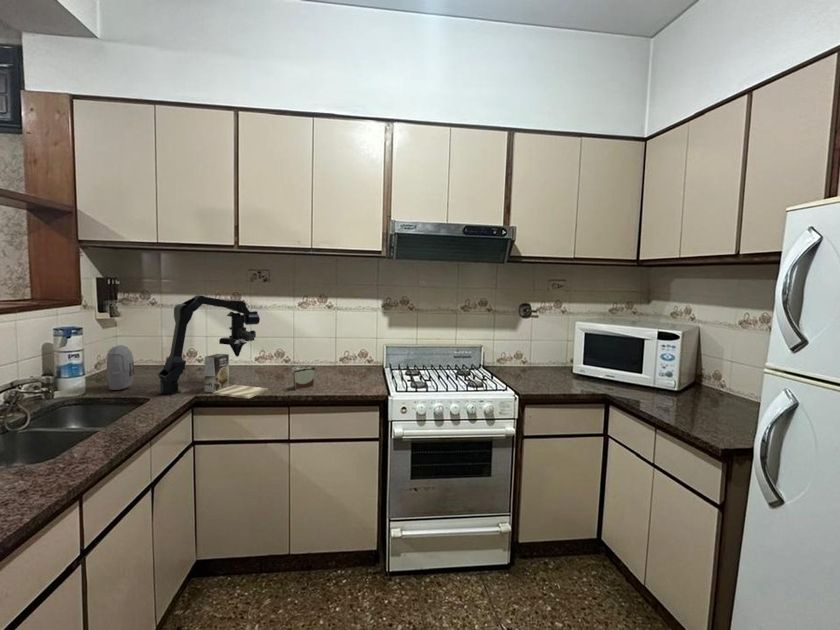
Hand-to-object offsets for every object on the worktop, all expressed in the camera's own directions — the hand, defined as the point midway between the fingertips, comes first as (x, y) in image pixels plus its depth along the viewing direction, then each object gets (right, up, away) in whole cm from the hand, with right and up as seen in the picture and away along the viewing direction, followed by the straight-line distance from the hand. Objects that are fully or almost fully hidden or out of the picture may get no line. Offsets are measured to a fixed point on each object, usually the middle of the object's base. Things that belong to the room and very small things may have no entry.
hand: (237, 356), depth 210 cm
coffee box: (-3, -14, -15) cm, 21 cm away
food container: (+34, -14, -7) cm, 37 cm away
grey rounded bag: (-45, -13, -18) cm, 50 cm away
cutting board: (+10, -15, -19) cm, 26 cm away
